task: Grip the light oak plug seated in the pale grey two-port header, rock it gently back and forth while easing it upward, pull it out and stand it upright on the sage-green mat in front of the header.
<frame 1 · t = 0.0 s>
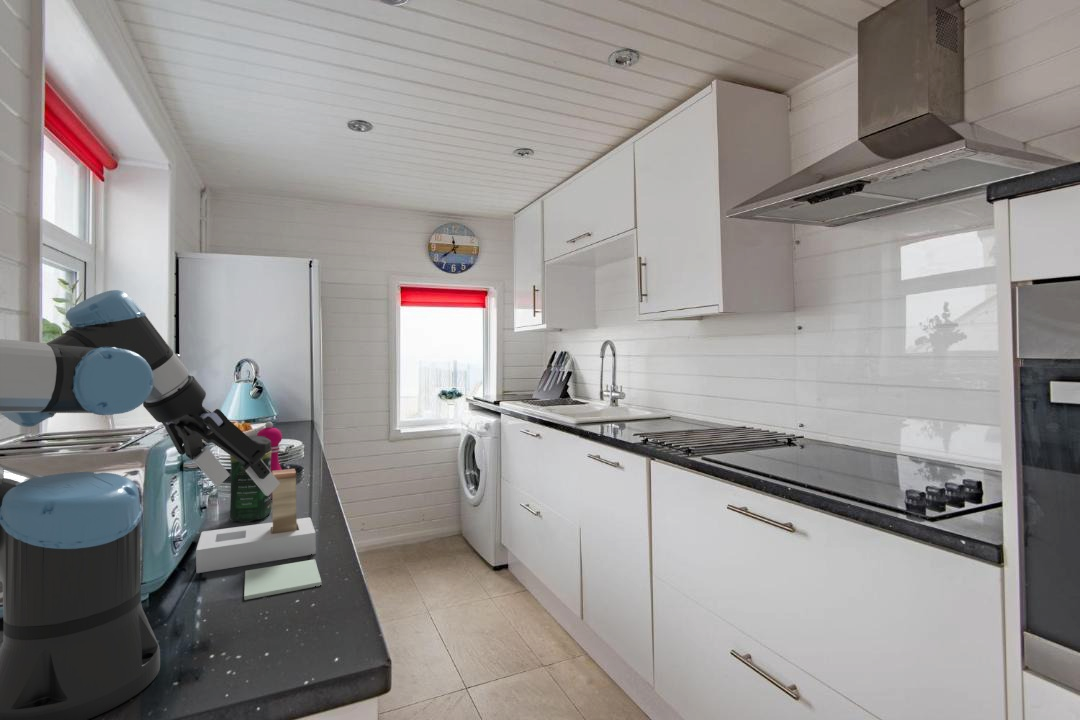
hand: (247, 484, 92), 15 cm above the worktop, tool tilted 35°, fingers open, 13 cm apart
header: (258, 553, 102), on the worktop
pepper mill: (269, 498, 143), on the worktop
coffee jar: (252, 517, 125), on the worktop
mat: (282, 579, 90), on the worktop
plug: (284, 549, 104), resting in header
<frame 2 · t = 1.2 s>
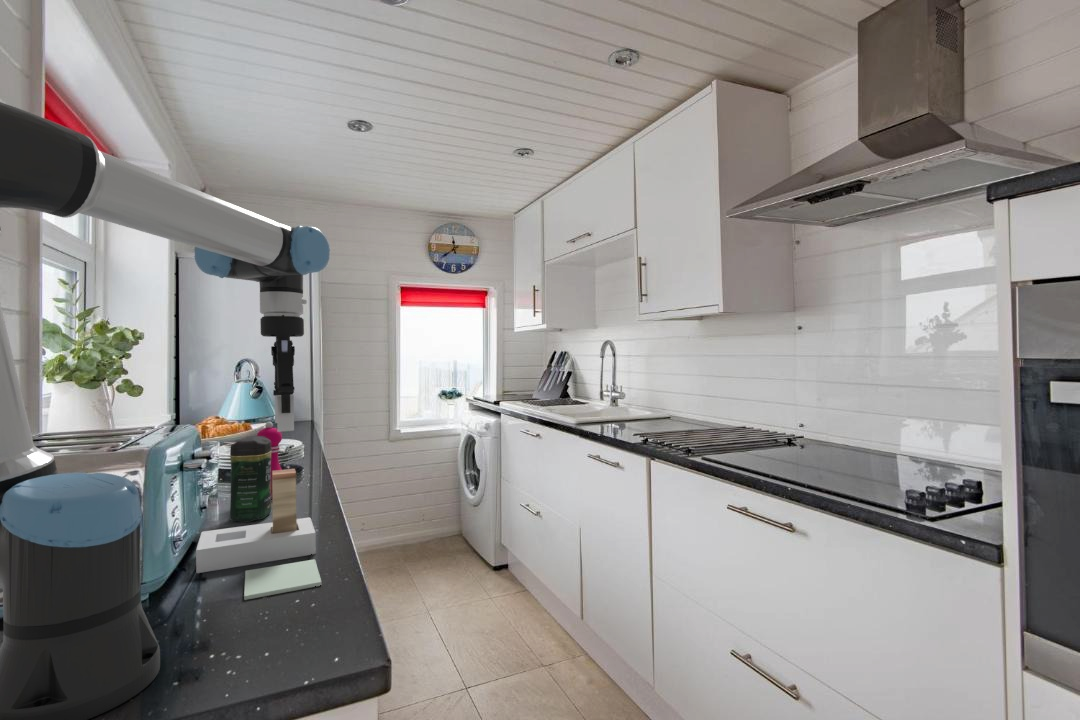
hand: (284, 426, 104), 24 cm above the worktop, tool pointing down, fingers open, 13 cm apart
nothing on the worktop moved.
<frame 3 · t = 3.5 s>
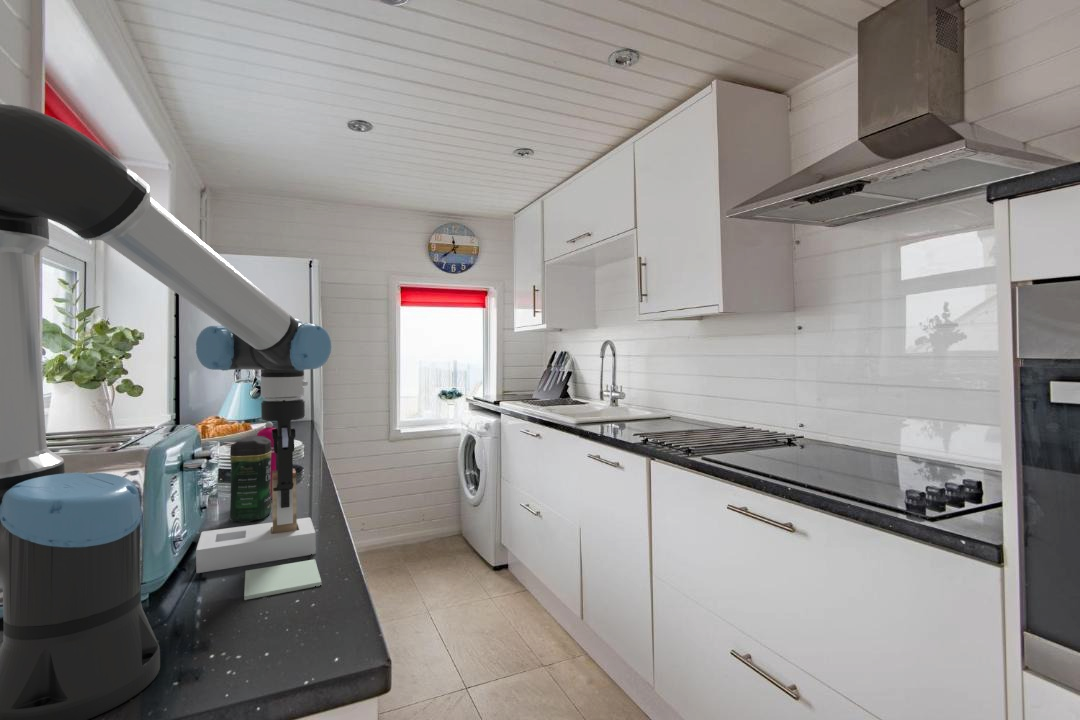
hand: (284, 520, 104), 6 cm above the worktop, tool pointing down, fingers closed on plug, 4 cm apart
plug: (284, 549, 104), resting in header, touching gripper
everything else where it was.
when the fingers open (7 cm above the worktop, at t = 11.3 s): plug stays where it is, resting on mat.
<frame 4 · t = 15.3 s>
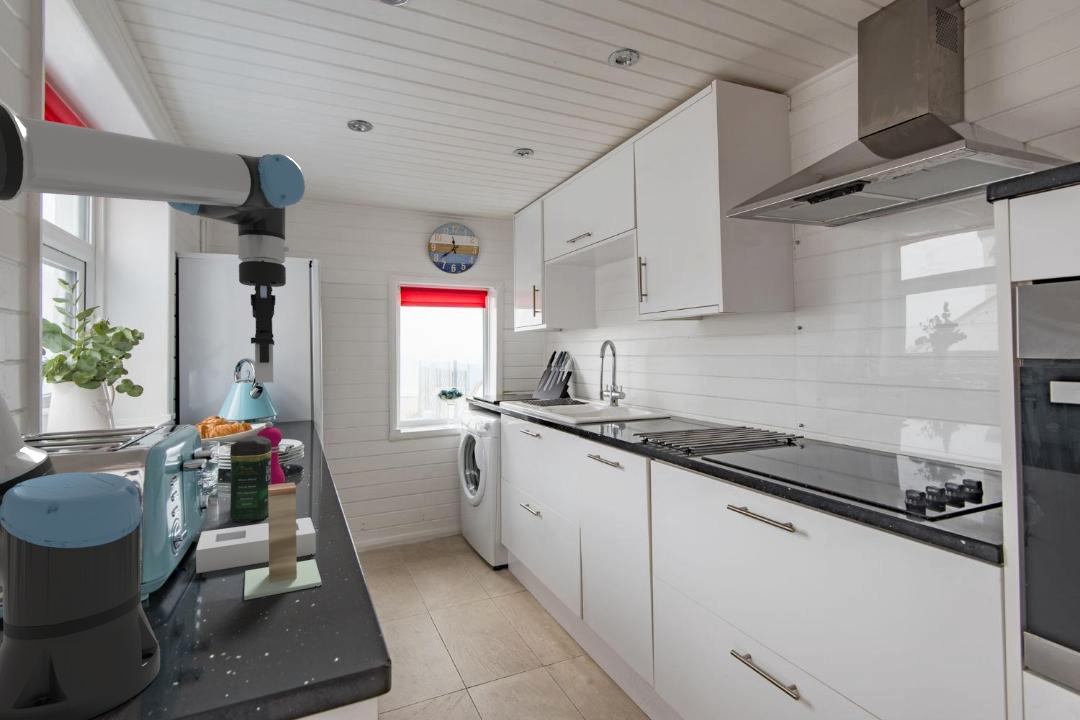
hand: (263, 381, 98), 33 cm above the worktop, tool pointing down, fingers open, 13 cm apart
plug: (282, 576, 90), point 1 cm above the worktop, touching mat
everything else where it was.
at the end: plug inside the target area on the mat (0.0 cm from its centre), point 0.6 cm above the mat's base; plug tilted 0°; the gripper is holding nothing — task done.
